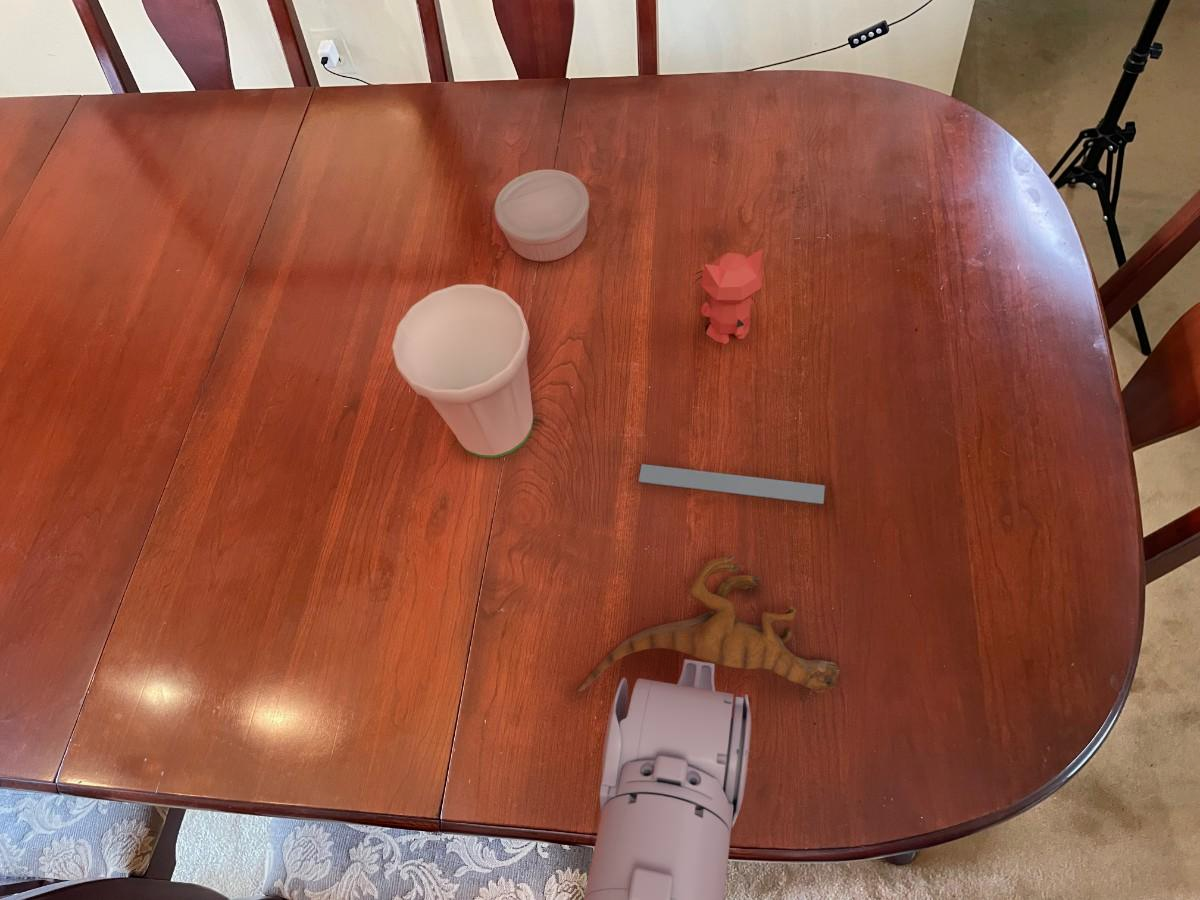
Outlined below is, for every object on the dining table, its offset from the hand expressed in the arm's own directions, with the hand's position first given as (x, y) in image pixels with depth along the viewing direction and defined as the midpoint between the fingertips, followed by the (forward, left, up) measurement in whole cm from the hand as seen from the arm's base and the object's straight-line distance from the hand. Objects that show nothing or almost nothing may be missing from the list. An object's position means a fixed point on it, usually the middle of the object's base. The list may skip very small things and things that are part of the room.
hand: (687, 792), depth 60 cm
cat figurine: (+46, -16, -11) cm, 50 cm away
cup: (+41, +11, -11) cm, 44 cm away
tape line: (+28, -11, -10) cm, 32 cm away
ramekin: (+66, +1, -11) cm, 67 cm away
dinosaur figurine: (+13, -5, -11) cm, 18 cm away
